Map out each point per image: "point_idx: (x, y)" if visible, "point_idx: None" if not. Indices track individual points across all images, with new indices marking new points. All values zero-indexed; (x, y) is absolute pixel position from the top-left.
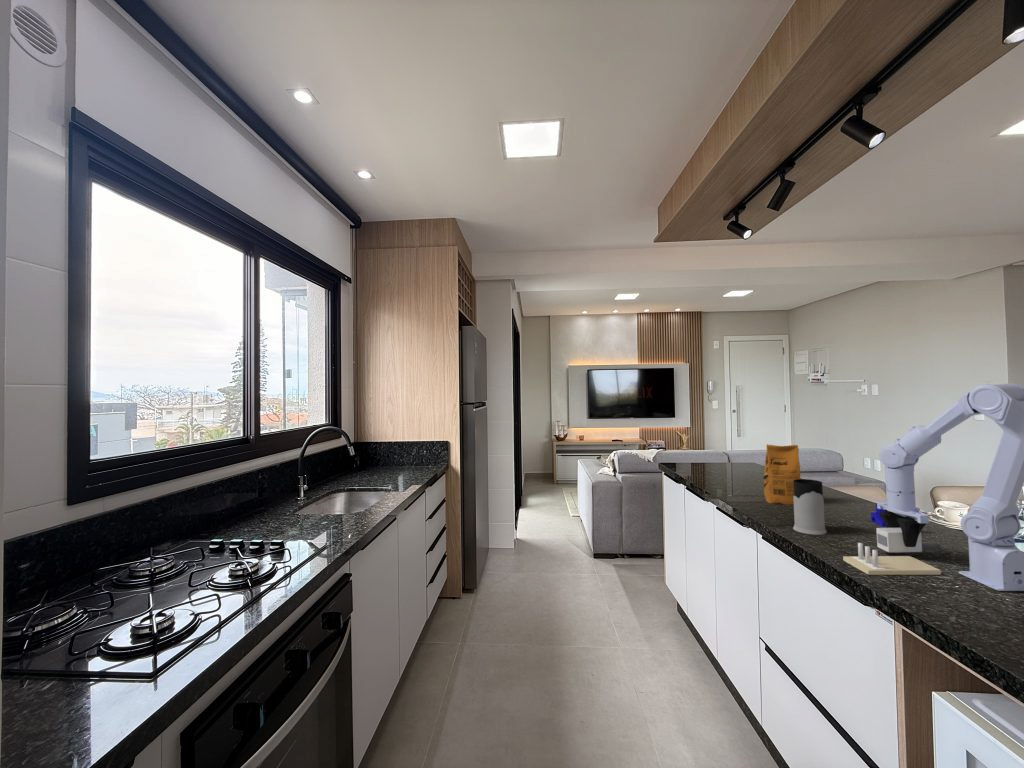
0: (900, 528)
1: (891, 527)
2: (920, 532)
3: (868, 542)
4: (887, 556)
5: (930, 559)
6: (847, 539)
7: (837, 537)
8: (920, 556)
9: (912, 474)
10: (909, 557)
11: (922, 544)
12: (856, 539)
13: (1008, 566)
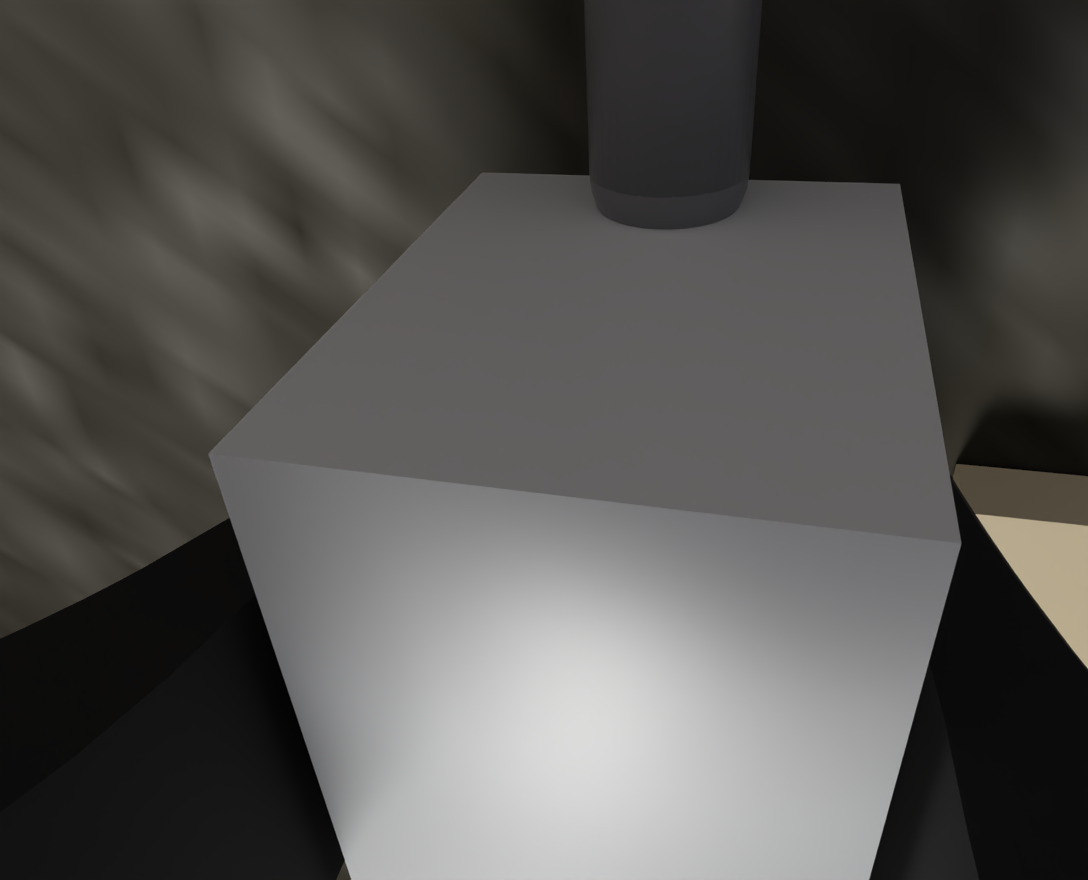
0: (395, 752)
1: (326, 854)
2: (948, 543)
3: (94, 426)
4: None
5: (1014, 8)
6: (50, 578)
7: (8, 623)
8: (782, 93)
9: None
10: (1035, 571)
11: (708, 45)
12: (4, 482)
13: None
